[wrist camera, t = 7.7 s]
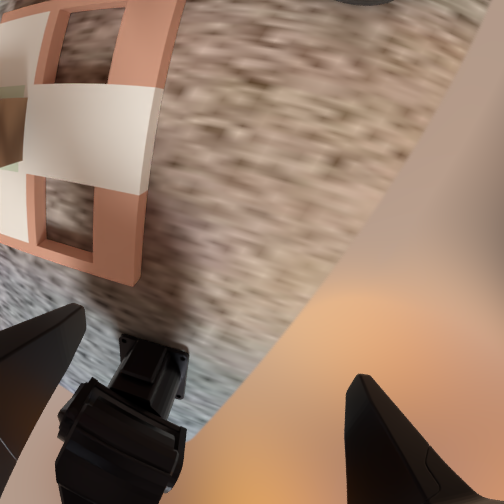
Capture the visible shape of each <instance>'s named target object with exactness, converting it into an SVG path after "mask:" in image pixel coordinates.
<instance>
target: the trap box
mask: <svg viewBox="0 0 504 504" xmlns="http://www.w3.org/2000/svg"><path fill="white" fill-rule="evenodd" d="M185 2H186V0H50V1H46V2H42V3H38V4H34V5H30V6H26V7H23V8H19V9H16V10H13V11H10V12H7V13H3V16H2V20H1V23H0V99H2V98H27V97H28V101H27V109H26V118H25V128H24V142H23V161H20V162H17V163H14V164H10V165H7V166H4V167H1V168H0V243H2V244H5V245H7V246H10V247H13V248H16V249H18V250H21V251H24V252H27V253H29V254H32V255H35V256H38V257H41V258H44V259H47V260H49V261H52V262H55V263H58V264H61V265H64V266H67V267H70V268H73V269H77V270H80V271H83V272H86V273H89V274H92V275H95V276H99V277H102V278H105V279H108V280H112V281H115V282H118V283H122V284H125V285H128V286H132V287H133V286H134V285H135V284H136V283H137V281H138V280H139V279H140V278H141V262H142V247H143V234H144V222H145V212H146V202H147V193H148V185H149V177H150V169H151V162H152V155H153V148H154V142H155V135H156V129H157V123H158V118H159V112H160V107H161V102H162V96H163V91H164V86H165V82H166V77H167V72H168V68H169V64H170V59H171V55H172V51H173V47H174V43H175V39H176V35H177V31H178V27H179V24H180V20H181V16H182V13H183V9H184V6H185ZM122 7H126V8H125V11H124V15H123V18H122V22H121V26H120V29H119V33H118V37H117V41H116V45H115V49H114V54H113V58H112V63H111V68H110V72H109V77H108V83H107V84H83V83H66V84H55V79H56V73H57V68H58V63H59V58H60V53H61V49H62V44H63V40H64V36H65V32H66V28H67V25H68V21H69V17H70V14H71V13H74V12H81V11H89V10H98V9H108V8H122ZM46 177H47V178H53V179H58V180H64V181H69V182H74V183H79V184H84V185H90V186H95V189H94V210H93V253H92V252H89V251H85V250H82V249H78V248H75V247H72V246H68V245H65V244H62V243H58V242H55V241H52V240H48V239H47V232H46Z"/></svg>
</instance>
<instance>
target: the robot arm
mask: <svg viewBox="0 0 504 504" xmlns="http://www.w3.org/2000/svg"><path fill="white" fill-rule="evenodd" d="M85 331H86V318H85V309H84V307H83V306H81V305H78V304H76V303H71V304H68V305H66V306H63V307H60V308H58V309H55V310H53V311H50V312H47V313H45V314H42V315H40V316H37V317H35V318H32V319H29V320H27V321H24V322H22V323H19V324H17V325H14V326H12V327H9V328H7V329H4V330H1V331H0V497H1V495H2V493H3V491H4V488H5V486H6V484H7V482H8V479H9V477H10V475H11V473H12V471H13V469H14V467H15V465H16V462H17V460H18V458H19V456H20V454H21V452H22V450H23V448H24V446H25V444H26V442H27V440H28V438H29V436H30V434H31V432H32V430H33V429H34V426H35V425H36V423H37V421H38V419H39V417H40V416H41V414H42V412H43V410H44V408H45V407H46V405H47V403H48V401H49V400H50V398H51V396H52V394H53V393H54V391H55V389H56V387H57V385H58V384H59V382H60V381H61V379H62V377H63V376H64V374H65V372H66V371H67V369H68V367H69V365H70V363H71V361H72V359H73V357H74V354H75V352H76V350H77V348H78V346H79V344H80V342H81V340H82V338H83V336H84V334H85ZM124 339H125V340H124ZM119 344H120V359H121V364H120V365H119V367H118V369H117V371H116V372H115V374H114V376H113V378H112V379H111V381H110V383H109V385H108V387H106V386H104V385H103V384H101V383H99V382H98V380H96V379H95V378H93V377H92V378H91V380H90V381H89V382H88V383H87V382H86V383H81V384H80V386H79V387H78V389H77V390H76V392H75V394H74V395H73V396H72V398H71V399H70V400H69V401H68V402H67V403H66V404H65V405H64V407H63V408H62V409H61V410H60V412H59V413H58V419H59V422H60V426H59V429H60V430H59V433H58V436H57V437H58V438H59V439H60V440H62V441H63V442H64V444H63V446H62V448H61V450H60V452H59V455H58V457H57V459H56V461H55V472H56V481H57V483H58V485H59V491H60V496H61V501H62V504H158V503H159V501H160V499H161V497H162V495H163V493H168V492H169V491H170V490H171V489H172V488H173V486H174V485H175V483H176V481H177V479H178V477H179V475H180V472H181V470H182V466H183V459H184V450H185V441H186V432H187V429H186V428H184V427H182V426H180V427H179V426H177V425H175V424H173V423H171V422H169V421H167V419H168V416H169V413H170V410H171V408H172V405H173V402H174V399H175V398H176V399H183V397H184V394H185V385H186V377H187V369H188V362H189V355H188V354H187V353H186V352H183V351H179V350H176V349H172V348H169V347H165V346H162V345H158V344H155V343H152V342H148V341H145V340H142V339H139V338H136V337H132V336H129V335H126V334H122V335H121V337H120V338H119ZM183 357H184V358H183ZM344 440H345V457H346V478H347V504H504V501H500V500H493V499H488V498H485V497H482V496H480V495H479V494H477V493H476V492H475V491H473V489H471V487H469V486H468V485H467V484H466V483H465V482H464V481H463V480H462V479H461V478H460V477H459V476H458V475H457V474H456V473H455V472H454V471H453V470H452V469H451V468H450V467H449V466H448V465H447V464H446V463H445V462H444V461H443V460H442V459H441V458H440V456H439V455H438V454H437V453H436V452H435V451H434V449H433V448H432V447H431V446H429V444H428V442H427V441H426V440H425V439H424V438H423V437H422V435H421V434H420V433H419V432H418V431H417V430H416V428H415V427H414V426H413V425H412V424H411V422H410V421H409V420H408V419H407V418H406V417H405V416H404V414H403V413H402V412H401V411H400V410H399V408H398V407H397V406H396V405H395V404H394V403H393V402H392V400H391V399H390V398H389V397H388V396H387V395H386V393H385V392H384V391H383V390H382V389H381V388H380V386H379V385H378V384H377V383H376V382H375V380H374V379H373V378H372V377H371V376H370V375H365V374H358V375H356V377H355V378H354V380H353V382H352V383H351V385H350V387H349V388H348V390H347V393H346V406H345V429H344Z"/></svg>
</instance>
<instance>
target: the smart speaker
mask: <svg viewBox="0 0 504 504" xmlns="http://www.w3.org/2000/svg"><path fill="white" fill-rule="evenodd" d="M336 1H339V2H343V3H348V4H353V5H363V6H372V5H380V4H385V3H388V2H391V1H393V0H336Z"/></svg>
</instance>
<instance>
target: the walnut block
mask: <svg viewBox="0 0 504 504" xmlns="http://www.w3.org/2000/svg"><path fill="white" fill-rule="evenodd" d="M27 101H28V97H27V98H2V99H0V168H1V167H4V166H7V165H10V164H14V163H17V162H20V161H23V142H24V128H25V118H26V109H27Z"/></svg>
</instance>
